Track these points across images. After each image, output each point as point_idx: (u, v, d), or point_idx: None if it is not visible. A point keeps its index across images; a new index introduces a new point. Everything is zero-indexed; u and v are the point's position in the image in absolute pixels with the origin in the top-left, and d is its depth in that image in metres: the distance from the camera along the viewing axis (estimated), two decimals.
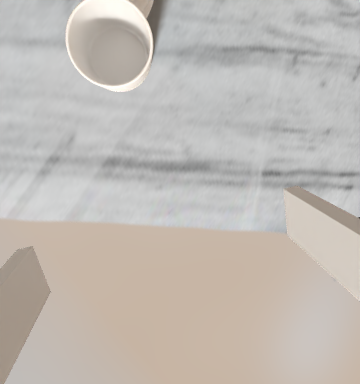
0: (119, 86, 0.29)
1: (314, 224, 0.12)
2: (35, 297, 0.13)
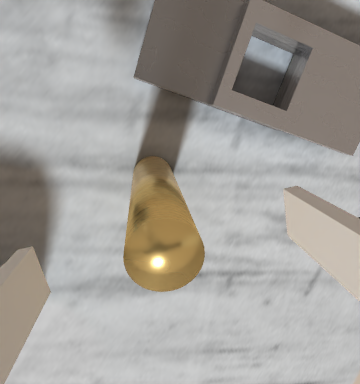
0: None
1: (314, 224, 0.12)
2: (35, 297, 0.13)
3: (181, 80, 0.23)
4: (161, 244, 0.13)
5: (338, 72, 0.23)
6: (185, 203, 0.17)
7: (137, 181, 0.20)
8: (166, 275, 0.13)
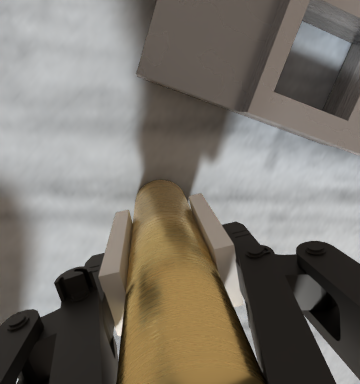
0: None
1: (199, 228, 0.14)
2: None
3: (202, 78, 0.17)
4: None
5: None
6: (220, 277, 0.10)
7: (140, 227, 0.13)
8: None
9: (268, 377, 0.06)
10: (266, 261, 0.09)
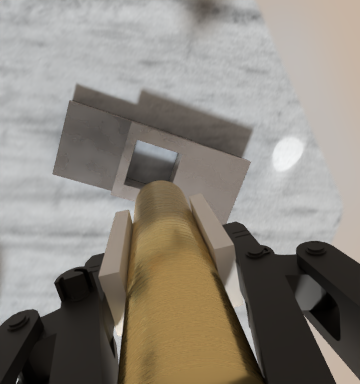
0: None
1: (199, 228, 0.14)
2: None
3: (89, 175, 0.32)
4: None
5: (204, 169, 0.32)
6: (219, 278, 0.10)
7: (140, 227, 0.14)
8: None
9: (268, 377, 0.06)
10: (266, 261, 0.09)
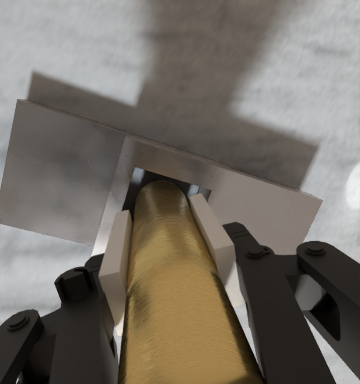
0: None
1: (199, 228, 0.14)
2: None
3: (56, 223, 0.19)
4: None
5: (247, 214, 0.19)
6: (219, 278, 0.10)
7: (140, 227, 0.14)
8: None
9: (268, 377, 0.06)
10: (266, 261, 0.09)
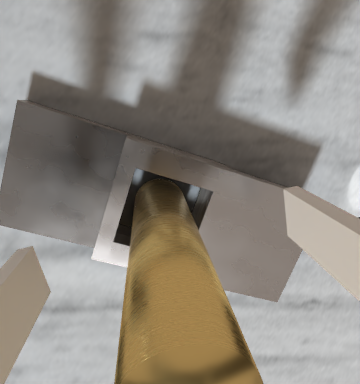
0: None
1: (314, 224, 0.12)
2: (35, 297, 0.13)
3: (56, 224, 0.19)
4: None
5: (249, 215, 0.19)
6: (214, 269, 0.11)
7: (139, 223, 0.14)
8: None
9: None
10: None
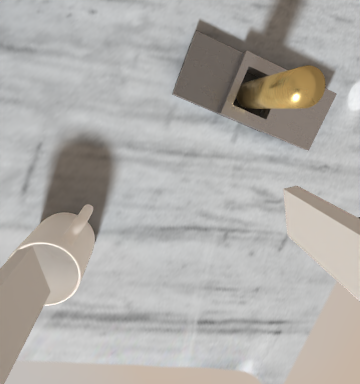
0: (51, 304, 0.34)
1: (314, 224, 0.12)
2: (35, 297, 0.13)
3: (201, 97, 0.38)
4: (305, 80, 0.26)
5: None
6: None
7: (259, 80, 0.33)
8: (304, 98, 0.26)
9: None
10: None
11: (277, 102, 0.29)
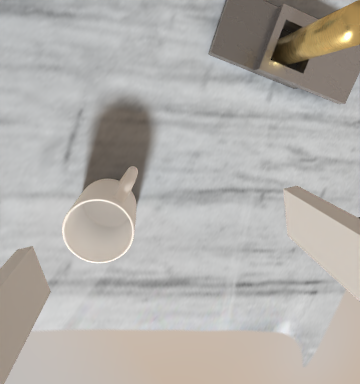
0: (106, 261, 0.35)
1: (314, 224, 0.12)
2: (35, 297, 0.13)
3: (238, 54, 0.38)
4: (359, 15, 0.26)
5: None
6: None
7: (301, 29, 0.33)
8: (358, 34, 0.26)
9: None
10: None
11: (326, 44, 0.29)
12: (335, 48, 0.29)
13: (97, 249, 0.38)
